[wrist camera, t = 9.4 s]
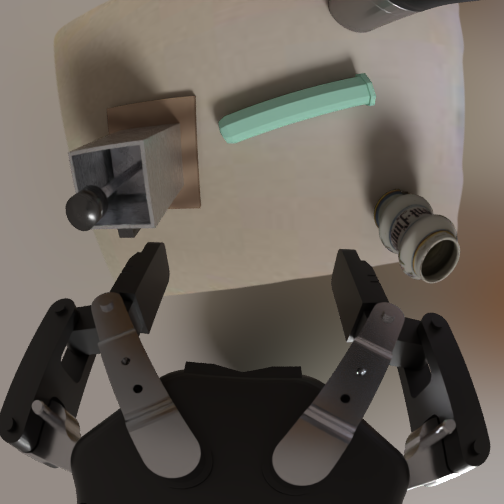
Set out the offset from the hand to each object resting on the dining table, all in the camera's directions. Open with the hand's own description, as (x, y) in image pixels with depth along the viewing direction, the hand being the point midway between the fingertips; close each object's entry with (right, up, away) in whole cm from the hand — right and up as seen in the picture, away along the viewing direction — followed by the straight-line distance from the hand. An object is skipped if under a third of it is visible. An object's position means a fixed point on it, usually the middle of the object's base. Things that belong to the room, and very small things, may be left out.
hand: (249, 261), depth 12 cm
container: (+7, +24, +27) cm, 37 cm away
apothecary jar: (+29, +9, +37) cm, 48 cm away
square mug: (-17, +16, +31) cm, 39 cm away
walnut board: (-17, +17, +31) cm, 40 cm away
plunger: (-17, +13, +25) cm, 33 cm away
